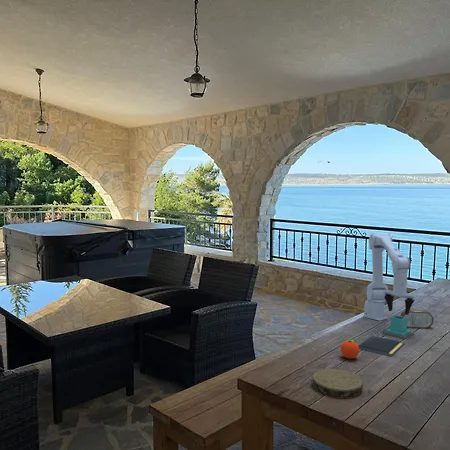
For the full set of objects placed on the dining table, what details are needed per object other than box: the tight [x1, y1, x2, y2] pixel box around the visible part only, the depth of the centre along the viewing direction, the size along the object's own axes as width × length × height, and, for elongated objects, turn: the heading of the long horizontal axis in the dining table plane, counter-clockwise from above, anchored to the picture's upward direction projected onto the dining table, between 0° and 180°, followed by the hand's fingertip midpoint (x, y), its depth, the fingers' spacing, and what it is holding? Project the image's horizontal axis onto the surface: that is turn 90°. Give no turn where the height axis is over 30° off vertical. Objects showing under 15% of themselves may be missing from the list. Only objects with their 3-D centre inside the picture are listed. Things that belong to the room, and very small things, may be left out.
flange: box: [386, 314, 412, 336], centre depth 194 cm, size 8×8×7 cm
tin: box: [400, 309, 434, 329], centre depth 205 cm, size 15×3×8 cm, turn 84°
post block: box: [382, 329, 415, 340], centre depth 194 cm, size 10×10×5 cm
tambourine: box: [312, 368, 364, 399], centre depth 139 cm, size 16×16×3 cm
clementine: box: [340, 339, 360, 360], centre depth 164 cm, size 8×7×7 cm
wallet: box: [357, 335, 406, 358], centre depth 178 cm, size 20×2×15 cm
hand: (398, 312), depth 195 cm, fingers open, 7 cm apart
